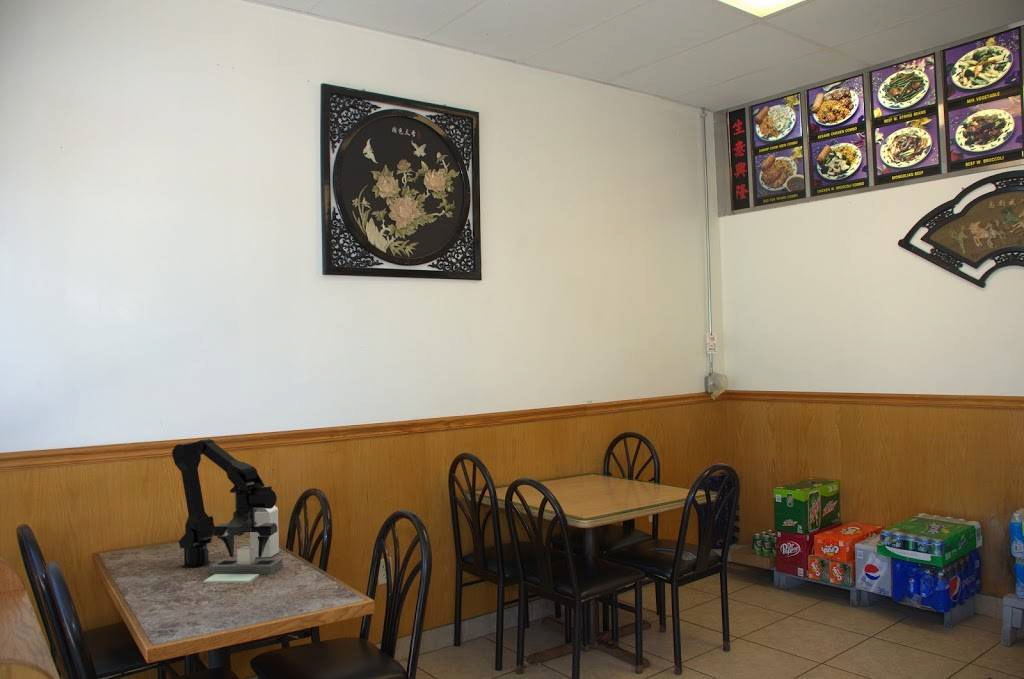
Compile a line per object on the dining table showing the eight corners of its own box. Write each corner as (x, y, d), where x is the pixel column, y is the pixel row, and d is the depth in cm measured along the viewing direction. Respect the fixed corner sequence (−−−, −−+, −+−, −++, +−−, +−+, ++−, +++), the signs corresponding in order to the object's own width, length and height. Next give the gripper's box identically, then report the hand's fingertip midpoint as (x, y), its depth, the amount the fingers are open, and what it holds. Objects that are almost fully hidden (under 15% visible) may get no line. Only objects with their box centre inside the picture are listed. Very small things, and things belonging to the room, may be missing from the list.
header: (208, 574, 239) (208, 566, 239) (222, 566, 248) (222, 558, 248) (271, 574, 237) (271, 566, 237) (282, 566, 246) (282, 558, 246)
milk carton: (279, 552, 264) (277, 496, 265) (270, 557, 257) (269, 500, 258) (259, 552, 265) (257, 496, 265) (250, 557, 258) (248, 500, 258)
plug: (237, 572, 241) (236, 549, 241) (243, 568, 245) (242, 546, 245) (249, 572, 240) (249, 549, 240) (255, 568, 244) (254, 546, 244)
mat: (203, 582, 230) (203, 580, 230) (215, 576, 237) (215, 574, 237) (249, 582, 228) (249, 580, 228) (259, 576, 235) (259, 574, 235)
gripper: (204, 512, 236) (204, 563, 235) (263, 511, 234) (264, 563, 234) (221, 505, 247) (222, 554, 247) (277, 504, 245) (278, 554, 245)
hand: (245, 556), depth 243 cm, fingers open, 9 cm apart
